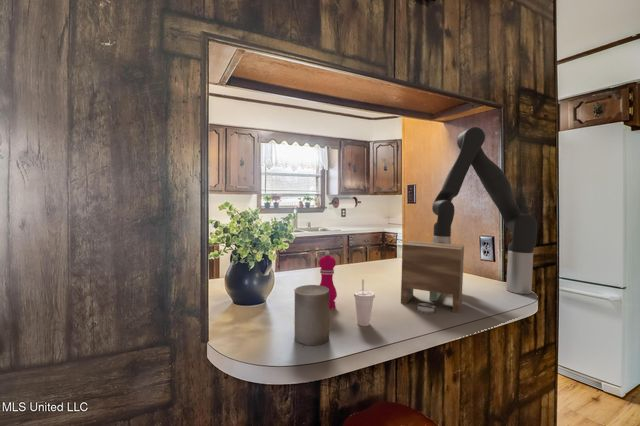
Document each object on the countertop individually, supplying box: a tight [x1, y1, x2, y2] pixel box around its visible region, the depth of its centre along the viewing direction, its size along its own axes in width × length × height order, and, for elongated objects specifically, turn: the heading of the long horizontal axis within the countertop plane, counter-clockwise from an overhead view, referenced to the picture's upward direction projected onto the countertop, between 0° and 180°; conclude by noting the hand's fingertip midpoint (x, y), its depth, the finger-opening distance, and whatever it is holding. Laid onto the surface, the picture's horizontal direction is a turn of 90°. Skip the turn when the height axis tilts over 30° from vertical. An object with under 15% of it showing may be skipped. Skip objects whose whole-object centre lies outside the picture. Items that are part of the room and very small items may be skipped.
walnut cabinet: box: [400, 240, 465, 313], centre depth 122 cm, size 12×20×22 cm, turn 62°
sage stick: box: [428, 291, 442, 302], centre depth 136 cm, size 23×2×4 cm, turn 151°
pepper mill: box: [318, 250, 338, 310], centre depth 116 cm, size 7×7×20 cm
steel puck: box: [416, 302, 436, 315], centre depth 114 cm, size 6×6×2 cm
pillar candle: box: [293, 284, 330, 346], centre depth 90 cm, size 10×10×15 cm
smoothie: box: [353, 278, 376, 327], centre depth 101 cm, size 6×6×14 cm
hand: (440, 283), depth 142 cm, fingers open, 8 cm apart
